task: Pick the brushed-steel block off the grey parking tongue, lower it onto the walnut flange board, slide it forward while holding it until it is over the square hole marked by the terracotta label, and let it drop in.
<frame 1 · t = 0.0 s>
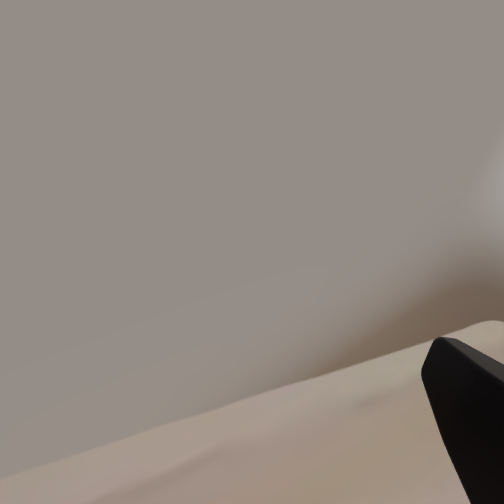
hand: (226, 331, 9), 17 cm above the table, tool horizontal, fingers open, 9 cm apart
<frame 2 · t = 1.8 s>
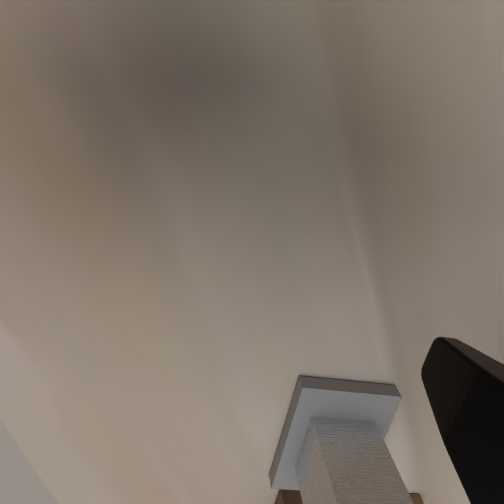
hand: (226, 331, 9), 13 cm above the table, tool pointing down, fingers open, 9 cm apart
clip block: (334, 444, 28), point 1 cm above the table, touching parking tongue
parking tongue: (329, 431, 28), on the table
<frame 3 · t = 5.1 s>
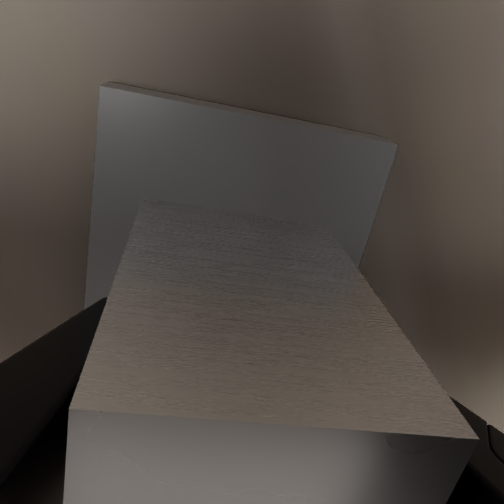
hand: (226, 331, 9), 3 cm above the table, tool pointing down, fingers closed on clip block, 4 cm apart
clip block: (222, 294, 11), point 1 cm above the table, touching gripper, parking tongue
parking tongue: (220, 274, 11), on the table
when the fingers open (4 cm above the table, at t = 10.1 s): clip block drops 3 cm, on the table.
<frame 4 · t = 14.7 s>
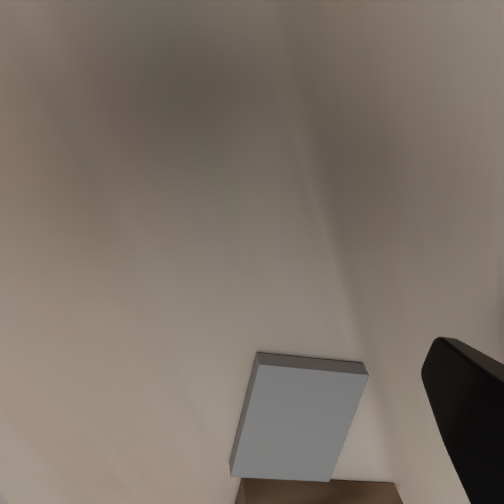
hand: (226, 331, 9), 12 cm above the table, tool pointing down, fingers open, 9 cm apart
parking tongue: (293, 414, 26), on the table
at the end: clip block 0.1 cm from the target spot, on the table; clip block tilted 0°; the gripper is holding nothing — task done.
